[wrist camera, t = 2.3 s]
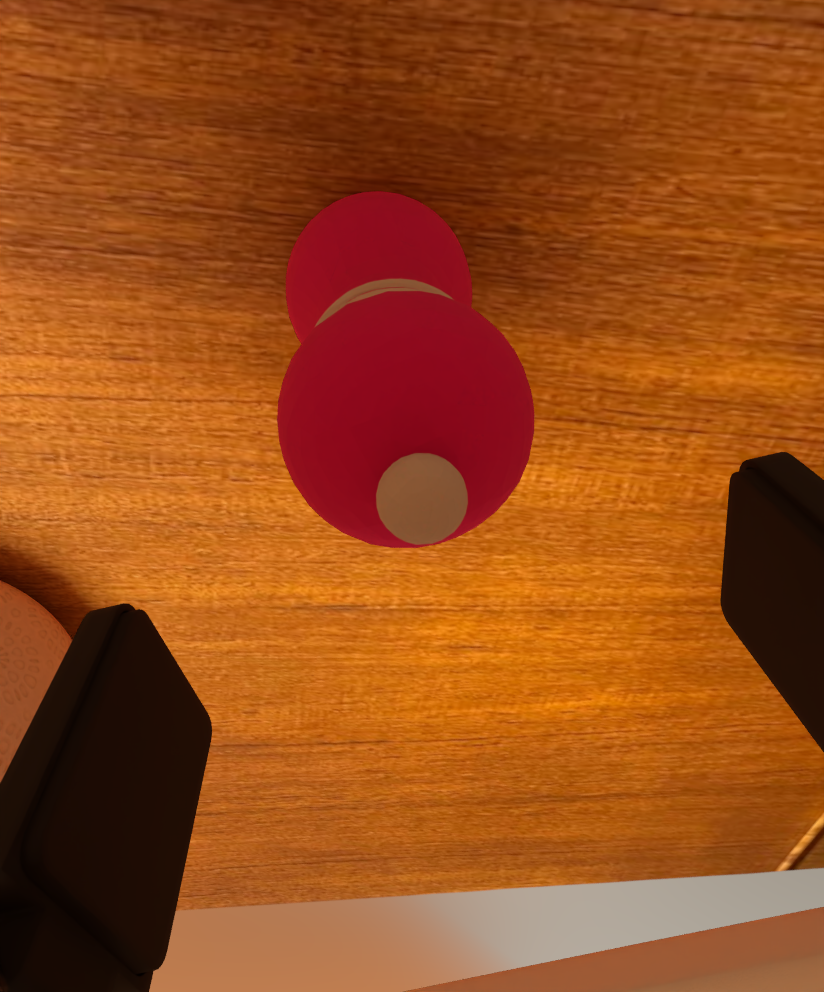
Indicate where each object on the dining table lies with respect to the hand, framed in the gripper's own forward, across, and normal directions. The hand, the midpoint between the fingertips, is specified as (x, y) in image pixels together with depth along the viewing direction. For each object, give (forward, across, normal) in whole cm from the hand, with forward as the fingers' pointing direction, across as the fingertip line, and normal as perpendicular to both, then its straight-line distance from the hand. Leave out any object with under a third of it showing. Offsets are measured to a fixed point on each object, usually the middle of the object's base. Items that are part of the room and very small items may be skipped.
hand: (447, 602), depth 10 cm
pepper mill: (+22, 0, -1) cm, 22 cm away
